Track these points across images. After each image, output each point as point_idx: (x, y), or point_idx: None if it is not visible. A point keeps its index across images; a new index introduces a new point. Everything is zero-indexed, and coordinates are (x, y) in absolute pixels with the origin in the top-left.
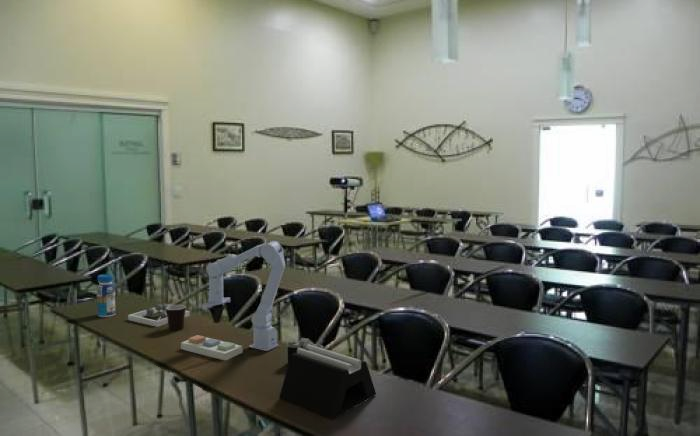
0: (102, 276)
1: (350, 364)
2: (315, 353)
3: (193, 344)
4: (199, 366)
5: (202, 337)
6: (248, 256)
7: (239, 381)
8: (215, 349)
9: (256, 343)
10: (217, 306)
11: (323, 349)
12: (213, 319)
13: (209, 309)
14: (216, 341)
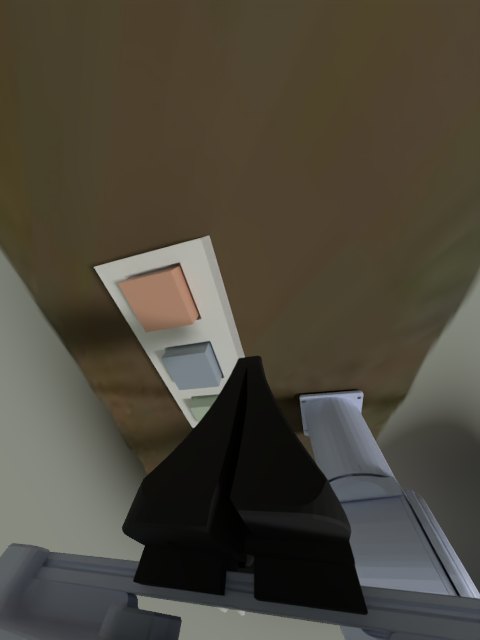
0: None
1: (225, 612)
2: (216, 607)
3: (137, 324)
4: (135, 397)
5: (177, 321)
6: None
7: None
8: (184, 399)
9: (307, 425)
10: (239, 567)
11: (236, 610)
12: (233, 374)
13: (165, 471)
14: (202, 386)
